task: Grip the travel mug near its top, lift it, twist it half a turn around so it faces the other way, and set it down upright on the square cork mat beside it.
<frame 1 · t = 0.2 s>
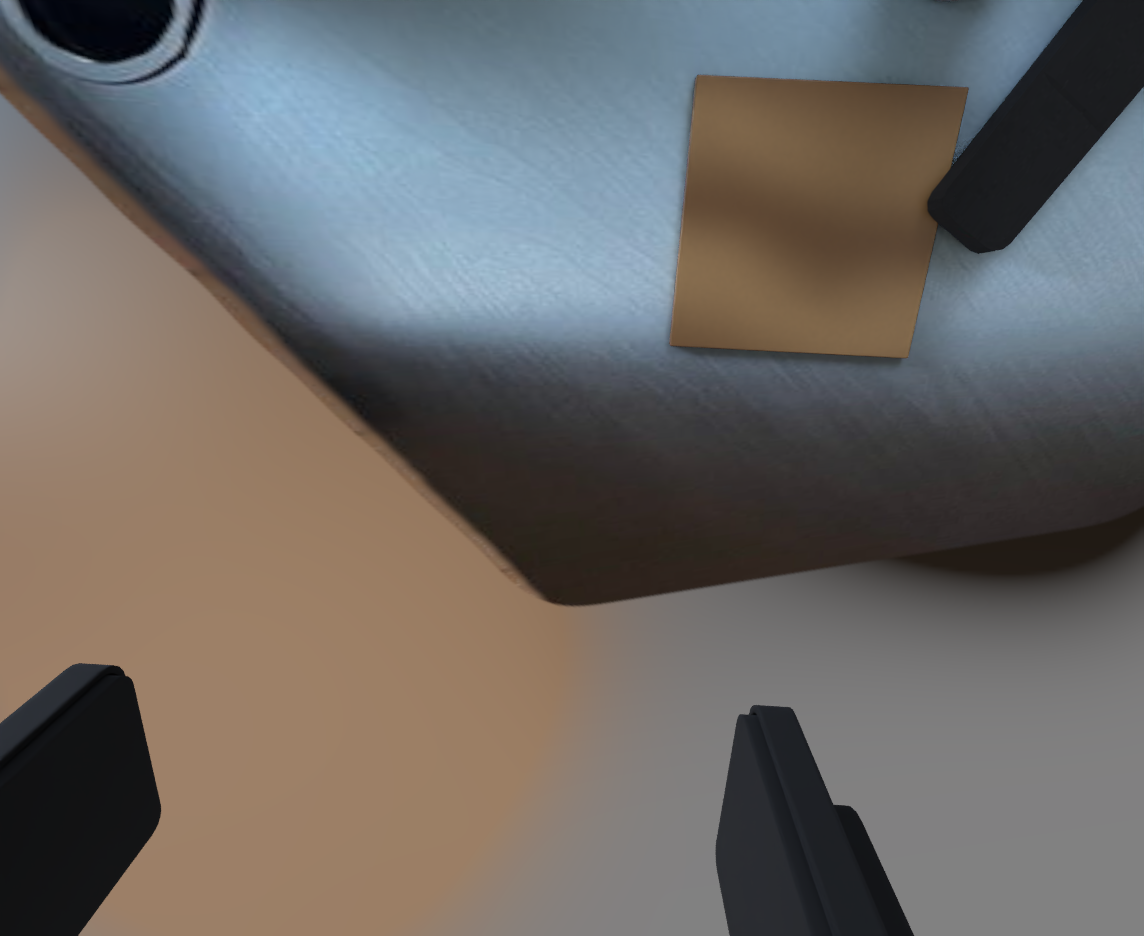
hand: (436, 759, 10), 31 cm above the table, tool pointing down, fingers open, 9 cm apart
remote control: (1051, 108, 34), on the table, touching cork mat
cork mat: (806, 225, 36), on the table
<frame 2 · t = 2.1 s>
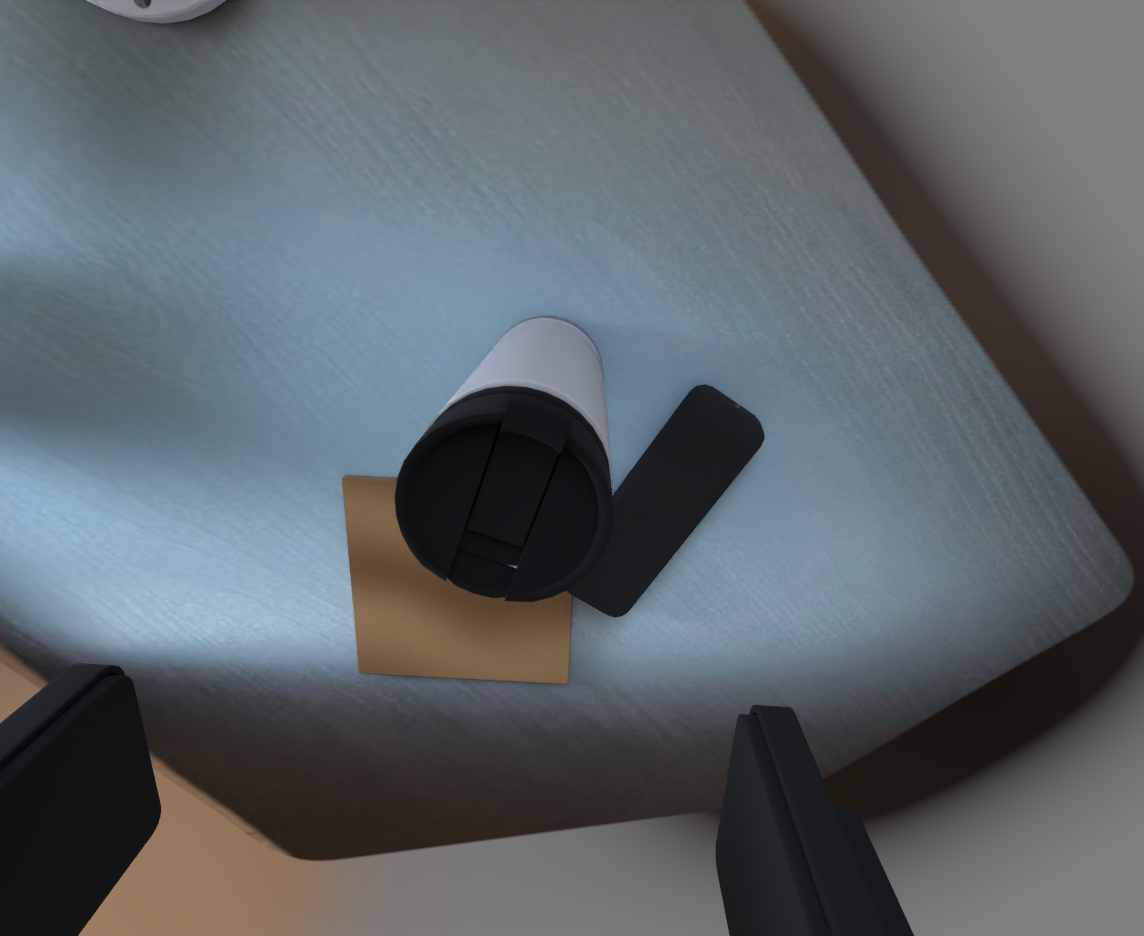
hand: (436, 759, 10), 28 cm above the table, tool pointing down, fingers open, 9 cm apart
travel mug: (548, 368, 36), on the table
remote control: (654, 501, 38), on the table, touching cork mat
cork mat: (463, 582, 41), on the table
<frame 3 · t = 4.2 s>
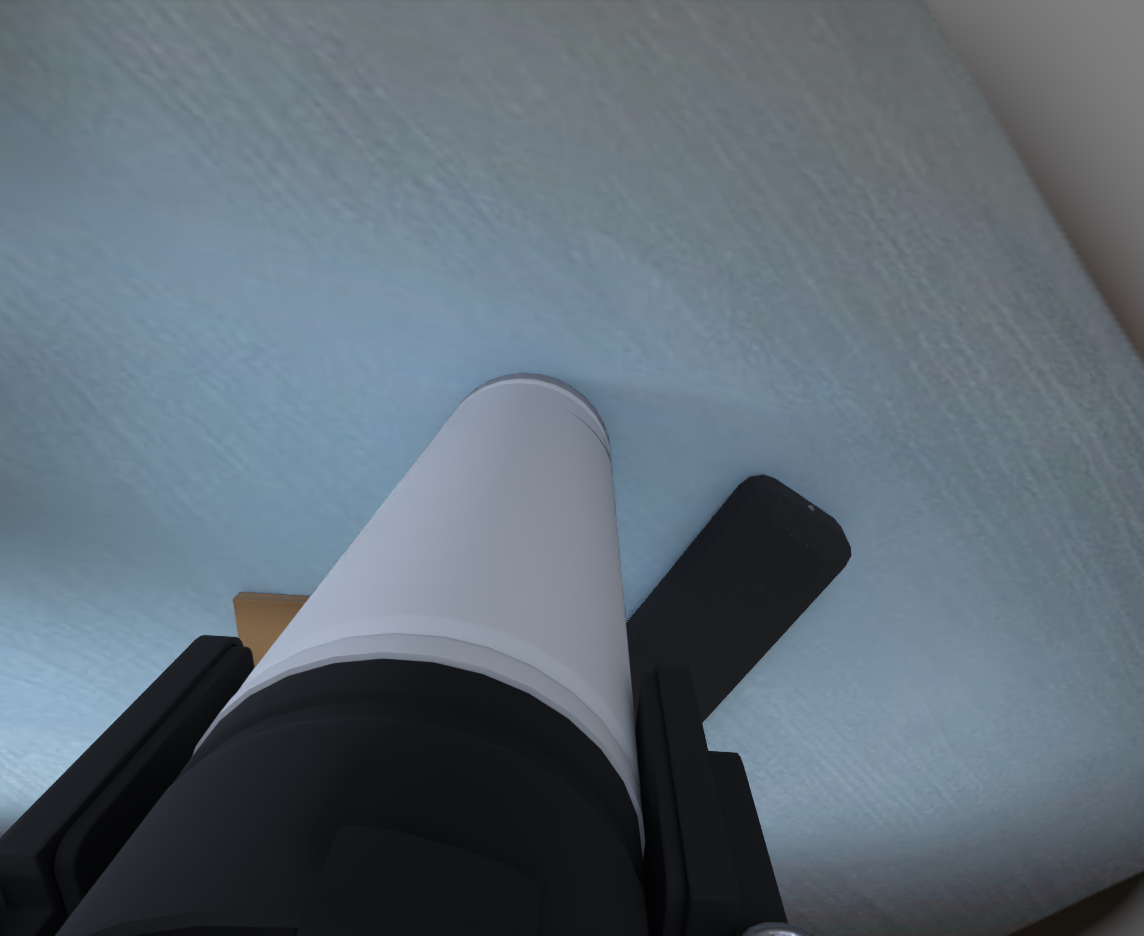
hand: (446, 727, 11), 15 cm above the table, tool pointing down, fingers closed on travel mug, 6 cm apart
travel mug: (529, 447, 24), on the table, touching gripper
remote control: (683, 633, 27), on the table, touching cork mat
cork mat: (411, 734, 29), on the table
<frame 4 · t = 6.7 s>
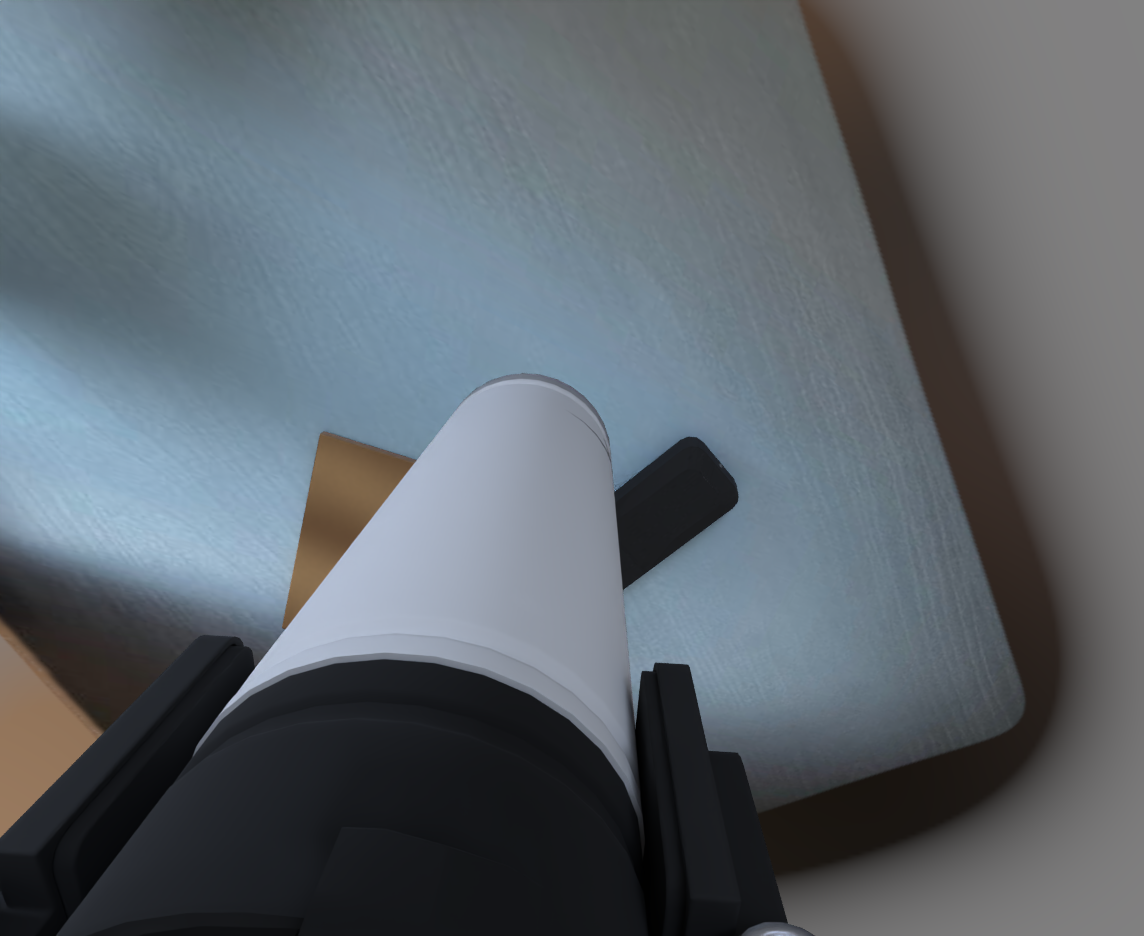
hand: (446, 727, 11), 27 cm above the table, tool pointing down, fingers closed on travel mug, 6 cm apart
travel mug: (530, 447, 24), point 13 cm above the table, touching gripper
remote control: (618, 534, 39), on the table, touching cork mat
cork mat: (411, 564, 41), on the table
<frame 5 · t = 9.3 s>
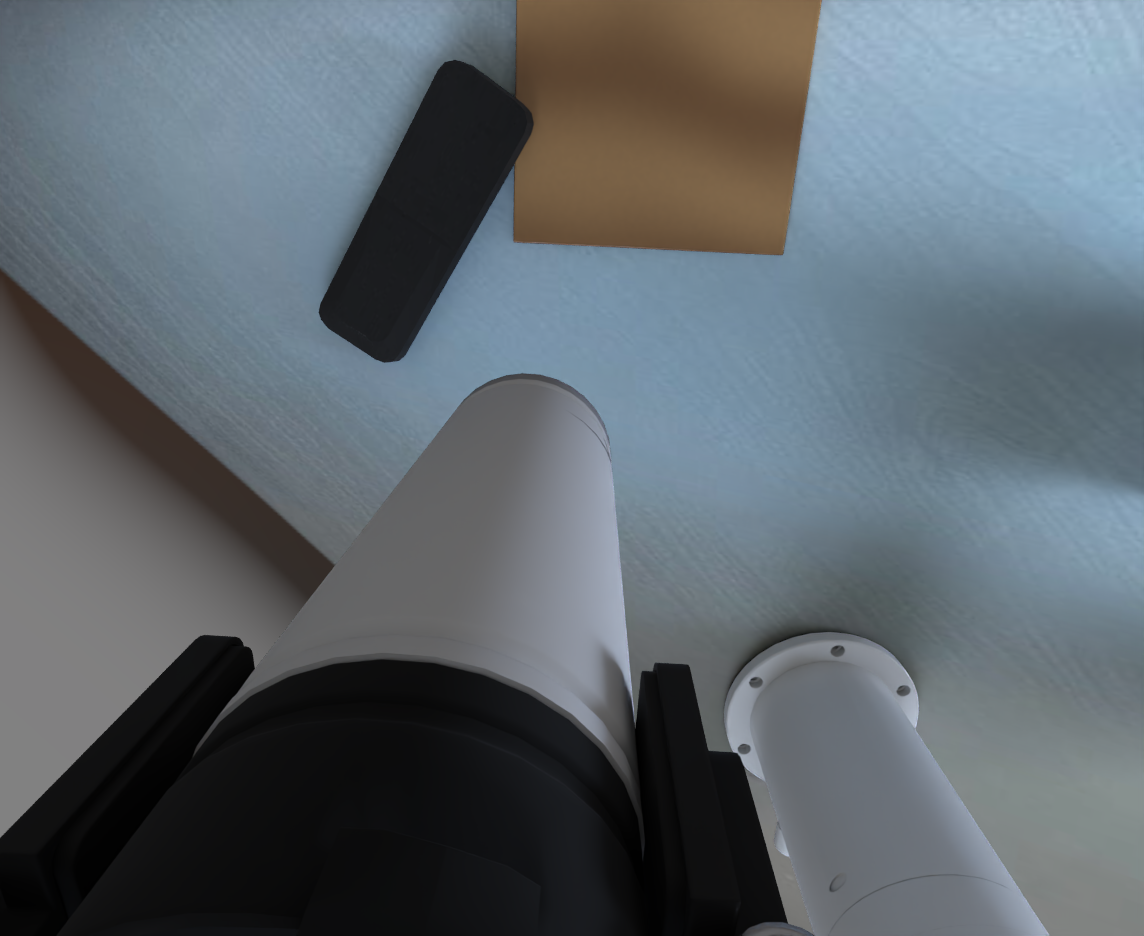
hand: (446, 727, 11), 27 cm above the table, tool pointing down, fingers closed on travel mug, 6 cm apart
travel mug: (530, 447, 24), point 13 cm above the table, touching gripper
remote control: (425, 223, 34), on the table, touching cork mat
cork mat: (659, 97, 31), on the table
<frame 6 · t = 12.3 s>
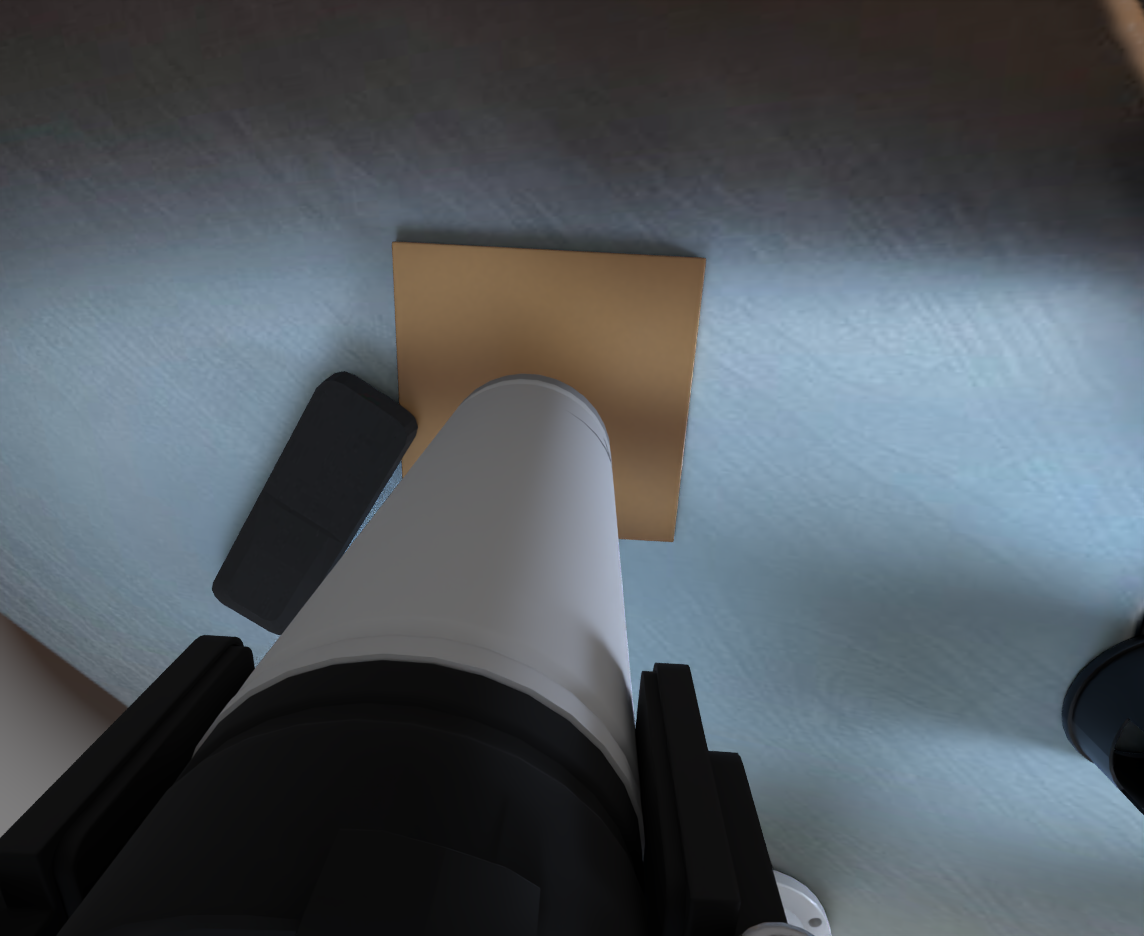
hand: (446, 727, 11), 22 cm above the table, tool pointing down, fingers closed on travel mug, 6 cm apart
travel mug: (530, 448, 24), point 7 cm above the table, touching gripper
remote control: (317, 506, 34), on the table, touching cork mat
cork mat: (544, 400, 31), on the table
when the fingers open (15 cm above the table, at t = 14.7 s): travel mug stays where it is, resting on cork mat.
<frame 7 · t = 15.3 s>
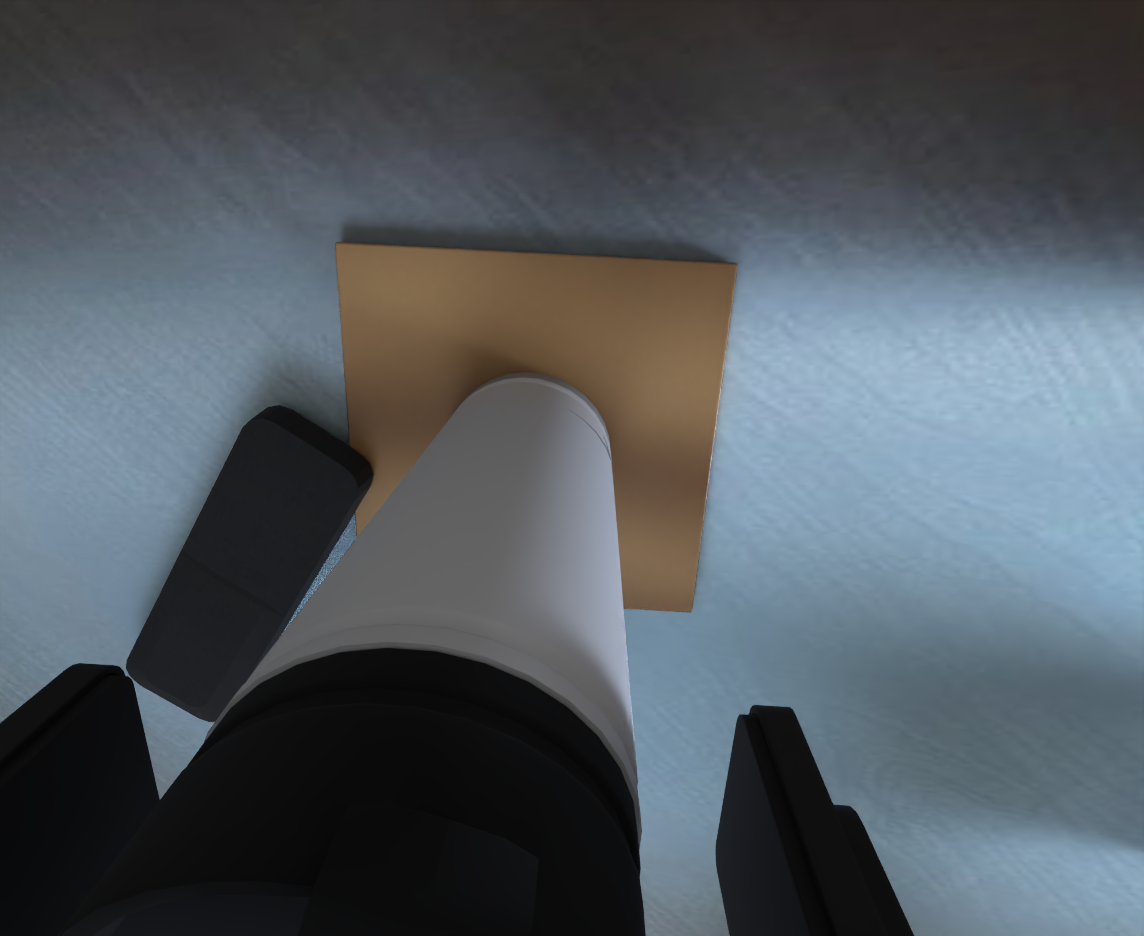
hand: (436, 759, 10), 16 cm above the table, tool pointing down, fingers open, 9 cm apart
travel mug: (531, 445, 25), resting on cork mat
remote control: (254, 567, 27), on the table, touching cork mat
cork mat: (531, 440, 25), on the table
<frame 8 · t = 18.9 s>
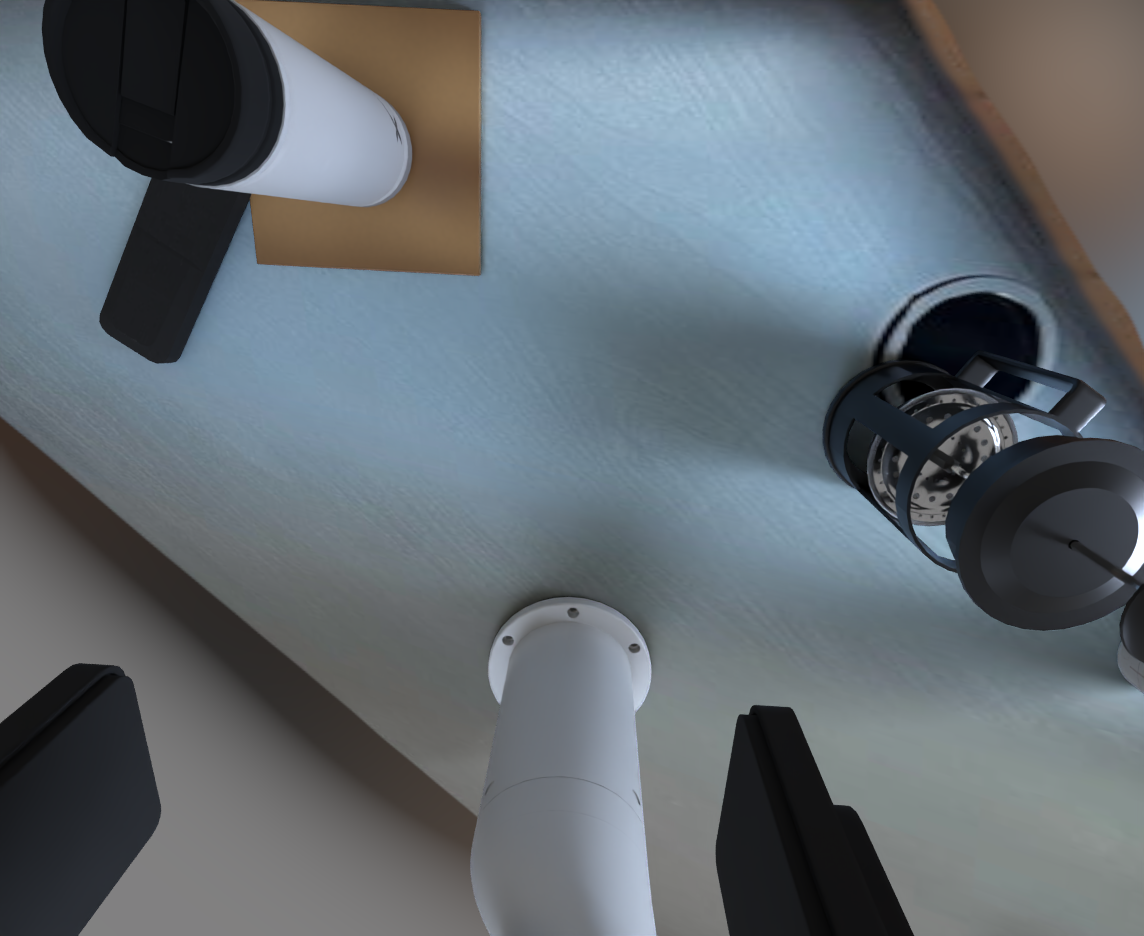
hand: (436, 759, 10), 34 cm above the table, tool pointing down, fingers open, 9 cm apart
french press: (897, 421, 43), on the table
travel mug: (362, 147, 38), resting on cork mat
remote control: (185, 248, 40), on the table, touching cork mat
cork mat: (364, 146, 38), on the table
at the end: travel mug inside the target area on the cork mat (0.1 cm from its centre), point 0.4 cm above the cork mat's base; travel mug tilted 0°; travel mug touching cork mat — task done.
